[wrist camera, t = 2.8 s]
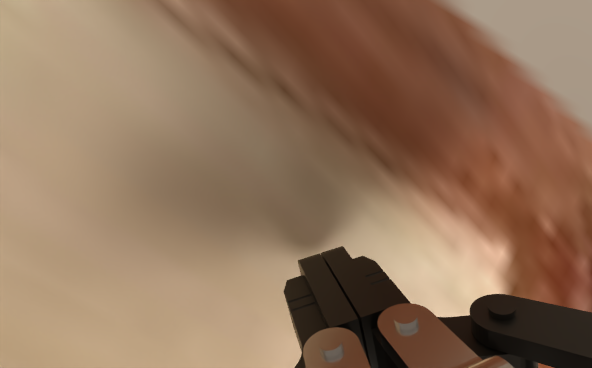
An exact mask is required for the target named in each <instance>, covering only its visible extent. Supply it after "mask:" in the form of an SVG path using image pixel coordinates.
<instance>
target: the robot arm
mask: <svg viewBox="0 0 592 368" xmlns="http://www.w3.org/2000/svg"><path fill="white" fill-rule="evenodd" d="M298 264H299V268H300V272H301V276H299V277H296V278H293V279H290V280H287V282H286V286H285V289H284V294H285V298H286V301H287V305H288V308H289V312H290V315H291V319H292V323H293V326H294V330H295V333H296V336H297V339H298V342H299V345H300V348H301V351H302V355H301V358H300V360H299V362H298V364H297V365H296V366H295V368H538V363H541V364H544V365H548V366H551V367H554V368H592V313H591V312H586V311H581V310H577V309H572V308H567V307H563V306H558V305H553V304H548V303H544V302H539V301H534V300H529V299H525V298H520V297H515V296H511V295H505V294H492V295H486V296H483V297H480V298H478V299H477V300H475V301H474V302H473V303H472V305H471V307H470V315H469V316H459V317H445V318H444V317H436V316H435V315H434V314H433V313H432V312H431V311H430V310H428V309H427V308H425V307H423V306H420V305H417V304H411V303H410V302H409V301H408V299H407V298H406V297H405V296H404V295H403V293H402V292H401V291H400V290H399V289H398V288H397V286H396V285H395V284H394V283H393V282H392V280H391V279H389V277H388V276H387V275H386V273H385V272H383V270H382V269H381V267H380V266H379V265H378V264H377V263H376V262H375V261H373V260H371V259H369V258H367V257H364V256H361V257H358V258H355V259H352V258H351V257H350V255H349V254H348V253H347V251H346V250H345V248H344V247H343V246H342V247H338V248H335V249H332V250H329V251H326V252H323V253H321V255H320V254H317V255H313V256H310V257H307V258H304V259H301V260H298Z"/></svg>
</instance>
